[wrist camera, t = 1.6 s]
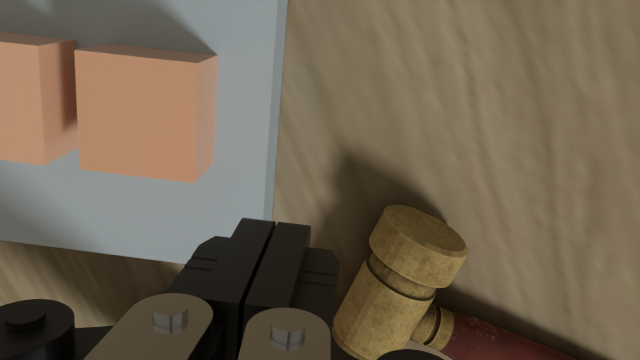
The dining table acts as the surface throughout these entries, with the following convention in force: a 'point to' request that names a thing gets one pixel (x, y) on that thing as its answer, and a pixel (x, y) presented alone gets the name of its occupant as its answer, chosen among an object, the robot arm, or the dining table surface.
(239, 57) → the board
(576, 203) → the dining table surface
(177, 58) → the peach foam cube
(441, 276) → the gavel
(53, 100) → the peach block
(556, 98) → the dining table surface
